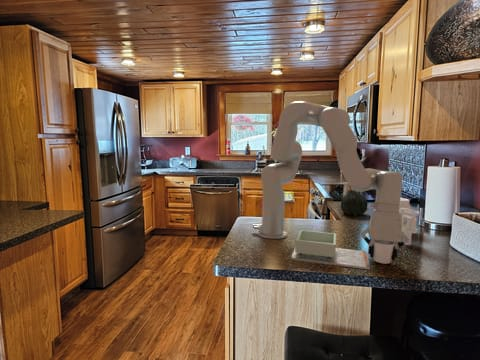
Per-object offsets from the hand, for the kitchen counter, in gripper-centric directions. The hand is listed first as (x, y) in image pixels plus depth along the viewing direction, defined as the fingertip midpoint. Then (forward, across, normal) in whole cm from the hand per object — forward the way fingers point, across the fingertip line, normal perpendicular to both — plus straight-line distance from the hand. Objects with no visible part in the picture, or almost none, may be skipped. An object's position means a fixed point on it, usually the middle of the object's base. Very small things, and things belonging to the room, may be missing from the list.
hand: (381, 257), depth 109 cm
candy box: (+3, -7, +99) cm, 99 cm away
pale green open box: (+1, -22, 0) cm, 22 cm away
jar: (+2, +13, +48) cm, 49 cm away
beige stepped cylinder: (+2, +13, +26) cm, 29 cm away
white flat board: (+2, -17, 0) cm, 18 cm away
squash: (+3, -6, +74) cm, 74 cm away
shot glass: (+1, 0, 0) cm, 1 cm away
